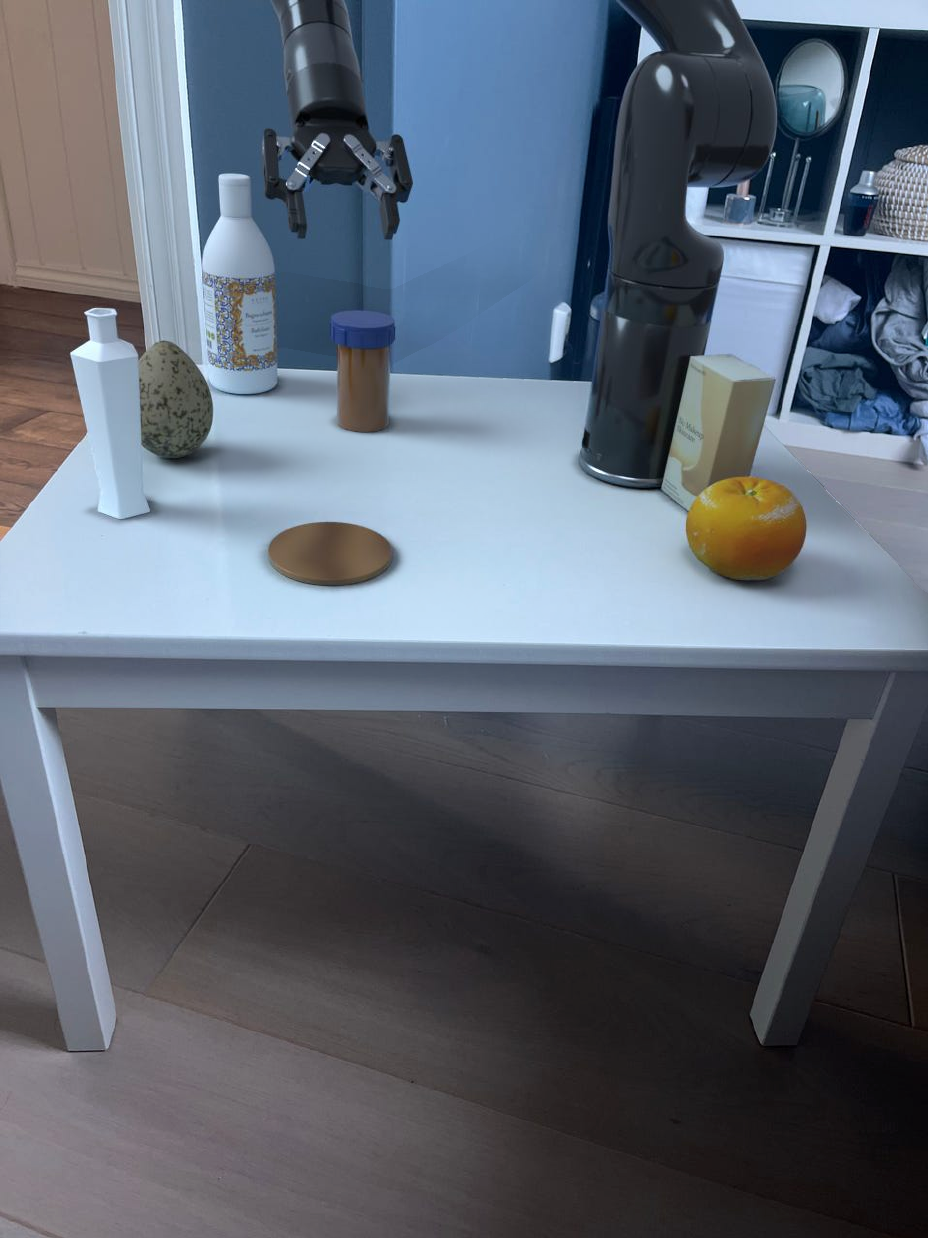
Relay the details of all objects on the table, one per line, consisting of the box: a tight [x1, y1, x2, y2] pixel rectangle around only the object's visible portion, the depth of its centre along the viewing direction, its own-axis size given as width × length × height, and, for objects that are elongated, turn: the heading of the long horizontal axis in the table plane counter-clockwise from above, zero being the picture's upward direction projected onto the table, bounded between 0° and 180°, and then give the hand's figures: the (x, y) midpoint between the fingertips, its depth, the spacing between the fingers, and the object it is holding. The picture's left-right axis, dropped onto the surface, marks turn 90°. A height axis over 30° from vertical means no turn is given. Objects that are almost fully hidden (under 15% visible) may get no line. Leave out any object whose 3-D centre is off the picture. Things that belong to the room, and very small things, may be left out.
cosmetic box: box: [661, 353, 777, 512], centre depth 81 cm, size 6×4×12 cm
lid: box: [329, 309, 396, 349], centre depth 90 cm, size 6×6×2 cm
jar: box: [336, 343, 392, 433], centre depth 92 cm, size 5×5×10 cm
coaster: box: [267, 521, 393, 586], centre depth 71 cm, size 9×9×1 cm
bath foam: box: [201, 173, 278, 395], centre depth 96 cm, size 7×7×20 cm
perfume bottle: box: [69, 307, 151, 520], centre depth 71 cm, size 5×4×15 cm
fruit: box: [685, 476, 808, 581], centre depth 73 cm, size 8×8×8 cm
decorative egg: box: [138, 340, 214, 459], centre depth 82 cm, size 7×7×10 cm
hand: (346, 234), depth 93 cm, fingers open, 8 cm apart
